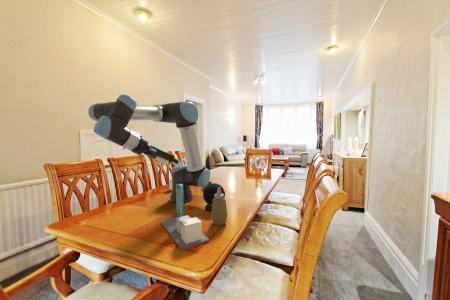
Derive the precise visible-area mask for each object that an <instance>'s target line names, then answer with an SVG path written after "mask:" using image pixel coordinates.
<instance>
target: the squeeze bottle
mask: <svg viewBox="0 0 450 300" xmlns="http://www.w3.org/2000/svg"><path fill="white" fill-rule="evenodd" d="M226 201H227V199H225V198H224V194H222V193H221V189H220V187H218V189H217V194H215V195H214V199H213V202H212V212H211V220H212V223H213V225H215V226H224V225H225V224H226V222H227V219H228V208H227V202H226Z"/></svg>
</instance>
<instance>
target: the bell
mask: <svg viewBox="0 0 450 300" xmlns="http://www.w3.org/2000/svg"><path fill="white" fill-rule="evenodd" d="M212 183H213V182H212V180H209V182H208V184H207V185H209V184H212ZM207 185H206V186H207ZM206 186H205V187H206ZM205 187H201V190H203V191H204V189H205Z"/></svg>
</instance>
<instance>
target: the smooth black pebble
mask: <svg viewBox="0 0 450 300" xmlns="http://www.w3.org/2000/svg"><path fill="white" fill-rule="evenodd" d="M218 187H220V189H221V193H222V194H224V199H225V198H226V191H225V189H224V187H223V186H222V185H221V184H219V183H217V182H212V184H209V185H207V186H206V187H205V189H204V191H203V192H202V198H203V200H204V203H206V204H205V206H204V210H205V211H207V212H211V213H212V202H213V199H214V195H215V194H217V189H218Z"/></svg>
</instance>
